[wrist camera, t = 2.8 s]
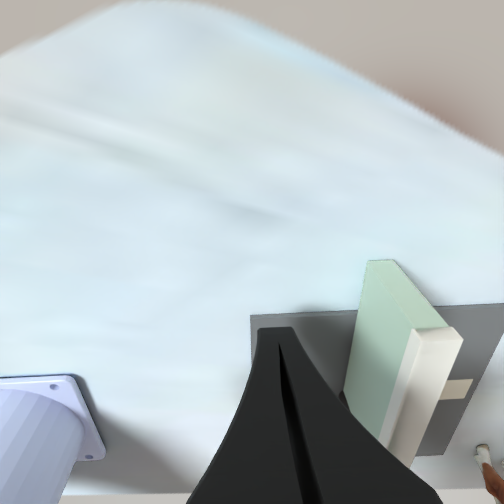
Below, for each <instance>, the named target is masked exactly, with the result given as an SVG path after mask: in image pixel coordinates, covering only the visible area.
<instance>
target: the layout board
mask: <svg viewBox="0 0 504 504" xmlns="http://www.w3.org/2000/svg"><path fill="white" fill-rule="evenodd" d="M433 308H434V309H435V310H436V311H437V312H438V314H439V315H440V316H441V317H442V318H443V320H444V321H445V322H446V323H447V324H448V325H449V327H453V328H454V329H455V330H456V331H457V332H458V334H459V335H460V336H461V337H462V338H463V339H464V340H463V342H462V345H461V347H460V349H459V352H458V354H457V357H456V359H455V361H454V364H453V366H452V369H451V371H450V373H449V376H448V378H447V381H446V383H445V385H444V388H443V390H442V392H441V395H440V397H439V400H438V402H437V404H436V407H435V409H434V412H433V414H432V416H431V419H430V421H429V423H428V426H427V428H426V431H425V433H424V435H423V438H422V440H421V443H420V445H419V447H418V450H417V452H416V455H415V456H431V455H443V454H444V452H445V450H446V448H447V446H448V444H449V442H450V440H451V438H452V436H453V434H454V432H455V430H456V428H457V426H458V424H459V421H460V419H461V417H462V415H463V413H464V411H465V409H466V407H467V405H468V403H469V401H470V399H471V397H472V395H473V393H474V391H475V389H476V387H477V385H478V383H479V381H480V379H481V377H482V375H483V373H484V371H485V369H486V367H487V365H488V363H489V361H490V359H491V357H492V355H493V353H494V351H495V349H496V347H497V345H498V343H499V341H500V339H501V337H502V335H503V333H504V303H503V304H481V305H460V306H438V307H433ZM357 314H358V310H353V311H331V312H310V313H288V314H267V315H250V323H251V357H252V364H253V360H254V356H255V351H256V345H257V330H258V329H259V328H267V327H289V326H291V327H292V328H293V329H294V331H295V333H296V335H297V337H298V339H299V341H300V343H301V344H302V346H303V348H304V350H305V351H306V353H307V355H308V356H309V358H310V359H311V361H312V362H313V364H314V365H315V367H316V368H317V370H318V372H319V373H320V374H321V376H322V377H323V379H324V380H325V381H326V383H327V384H328V385H329V387H330V388H331V389H332V391H333V392H334V393H335V394H336V396H337V397H338V396H339V393H340V392H341V391H342V390H343V389H344V384H345V379H346V373H347V368H348V362H349V357H350V352H351V346H352V341H353V335H354V330H355V324H356V319H357ZM338 398H339V397H338Z"/></svg>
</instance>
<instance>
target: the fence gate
mask: <svg viewBox="0 0 504 504" xmlns="http://www.w3.org/2000/svg"><path fill="white" fill-rule="evenodd" d="M463 340H464V339H463V338H462V337H461V336H460V335H459V334H458V332H457V331H456V330H455V329H454V328H453V327H449V325H448V324H447V323H446V322H445V321H444V320H443V318H442V317H441V316H440V315H439V314H438V312H437V311H436V310H435V309H434V308H433V307H432V305H431V304H430V303H429V302H428V301H427V299H426V298H425V297H424V296H423V295H422V294H421V292H420V291H419V290H418V289H417V288H416V286H415V285H414V284H413V283H412V282H411V280H410V279H409V278H408V277H407V276H406V275H405V273H404V272H403V271H402V270H401V269H400V267H399V266H398V265H397V264H396V263H395V262H394V260H379V261H367V265H366V270H365V276H364V281H363V287H362V292H361V297H360V303H359V308H358V314H357V319H356V324H355V330H354V335H353V341H352V346H351V352H350V357H349V362H348V368H347V373H346V379H345V384H344V389H343V391H344V394H345V397H346V400H347V403H348V405H349V408H350V411H351V413H352V414H353V416H354V417H355V418H356V419H357V420H358V421H359V422H360V423H361V424H362V425H363V426H364V427H365V428H366V429H367V430H368V431H369V432H370V433H371V434H372V435H373V436H374V437H375V438H376V439H377V440H378V441H379V442H380V443H381V444H382V445H383V446H384V447H385V448H386V449H387V450H388V451H389V452H390V453H392V454H393V455H394V456H395V457H396V458H397V459H398V460H399V461H401V462H402V463H403V464H404V465H405V466H406V467H407V468H409V469H410V466H411V464H412V462H413V459H414V457H415V455H416V452H417V450H418V447H419V445H420V443H421V440H422V438H423V435H424V433H425V431H426V428H427V426H428V423H429V421H430V419H431V416H432V414H433V412H434V409H435V407H436V404H437V402H438V400H439V397H440V395H441V392H442V390H443V388H444V385H445V383H446V381H447V378H448V376H449V373H450V371H451V369H452V366H453V364H454V361H455V359H456V357H457V354H458V352H459V349H460V347H461V345H462V342H463Z"/></svg>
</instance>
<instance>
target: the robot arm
mask: <svg viewBox="0 0 504 504" xmlns="http://www.w3.org/2000/svg"><path fill="white" fill-rule="evenodd" d="M105 454H106V449H105V447H104V445H103V442H102V440H101V438H100V436H99V433H98V431H97V429H96V426H95V424H94V422H93V420H92V417H91V415H90V413H89V410H88V408H87V406H86V404H85V401H84V399H83V397H82V394H81V392H80V390H79V388H78V385H77V383H76V381H75V380H74V378H72V377H71V376H66V375H62V376H42V377H23V378H4V379H0V504H58V502H59V500H60V498H61V495H62V493H63V490H64V488H65V486H66V483H67V481H68V478H69V476H70V473H71V471H72V468H73V466H74V464H75V462H77V461H94V460H101V459H103V458H104V457H105ZM186 504H443V502H442V501H441V499H440V498H439V496H438V494H437V493H436V491H435V490H434V489H433V488H432V487H430V486H429V485H428V484H427V483H426V482H424V481H423V480H422V479H421V478H419V477H418V476H417V475H416V474H415V473H413V472H412V471H411V470H410V469H409V468H407V467H406V466H405V465H404V464H403V463H402V462H401V461H399V460H398V459H397V458H396V457H395V456H394V455H393V454H392V453H390V452H389V451H388V450H387V449H386V448H385V447H384V446H383V445H382V444H381V443H380V442H379V441H378V440H377V439H376V438H375V437H374V436H373V435H372V434H371V433H370V432H369V431H368V430H367V429H366V428H365V427H364V426H363V425H362V424H361V423H360V422H359V421H358V420H357V419H356V418H355V417H354V416H353V414H352V413H351V412H350V411H349V410H348V409H347V408H346V406H345V405H344V404H343V403H342V402H341V401H340V399H339V398H338V397H337V396H336V394H335V393H334V392H333V391H332V389H331V388H330V387H329V385H328V384H327V383H326V381H325V380H324V379H323V377H322V376H321V374H320V373H319V372H318V370H317V368H316V367H315V365H314V364H313V362H312V361H311V359H310V358H309V356H308V355H307V353H306V351H305V350H304V348H303V346H302V344H301V343H300V341H299V339H298V337H297V335H296V333H295V331H294V329H293V328H292V327H291V326H289V327H267V328H259V329H258V330H257V345H256V351H255V356H254V360H253V364H252V368H251V372H250V375H249V378H248V381H247V384H246V387H245V390H244V393H243V396H242V398H241V401H240V404H239V406H238V408H237V411H236V413H235V416H234V418H233V420H232V422H231V424H230V426H229V429H228V431H227V433H226V435H225V437H224V439H223V441H222V443H221V445H220V447H219V448H218V450H217V452H216V454H215V456H214V458H213V459H212V461H211V463H210V465H209V467H208V468H207V470H206V472H205V473H204V475H203V477H202V478H201V480H200V481H199V483H198V485H197V486H196V488H195V489H194V491H193V493H192V494H191V496H190V497H189V499H188V501H187V503H186Z"/></svg>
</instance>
